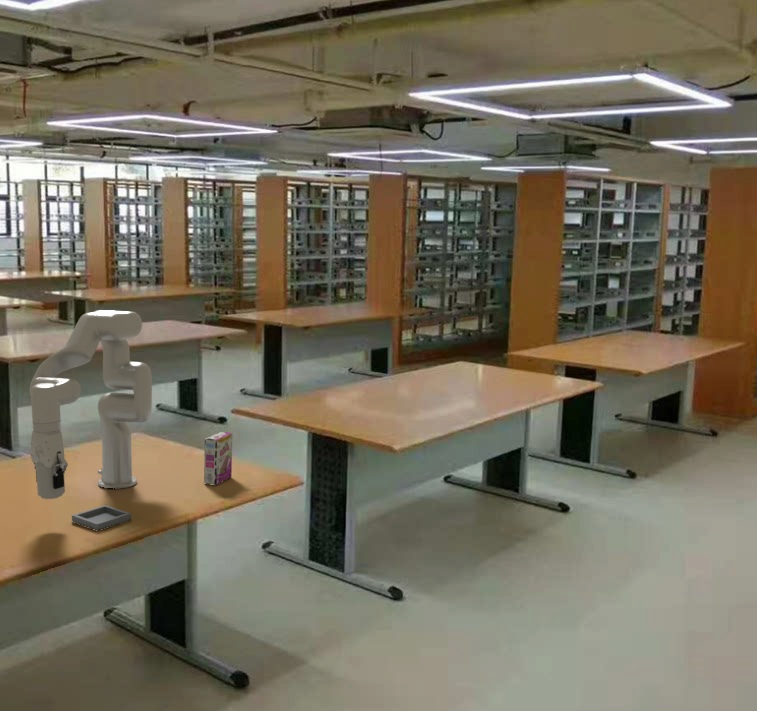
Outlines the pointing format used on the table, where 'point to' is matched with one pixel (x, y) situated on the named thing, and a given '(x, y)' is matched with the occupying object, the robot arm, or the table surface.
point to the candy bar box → (218, 458)
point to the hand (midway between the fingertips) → (50, 484)
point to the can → (47, 482)
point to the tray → (101, 517)
